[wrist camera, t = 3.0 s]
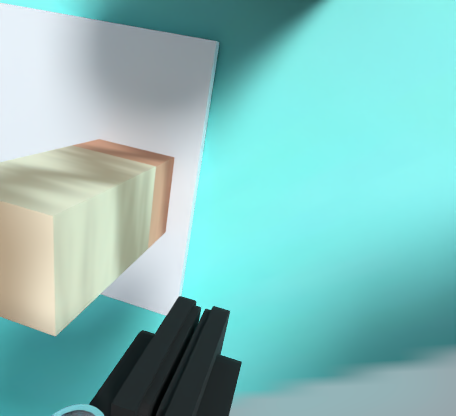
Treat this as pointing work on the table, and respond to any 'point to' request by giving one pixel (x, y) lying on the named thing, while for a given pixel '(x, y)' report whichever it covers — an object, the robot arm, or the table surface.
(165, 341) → the robot arm
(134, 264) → the white square plate
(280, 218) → the table surface
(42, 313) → the maple block
